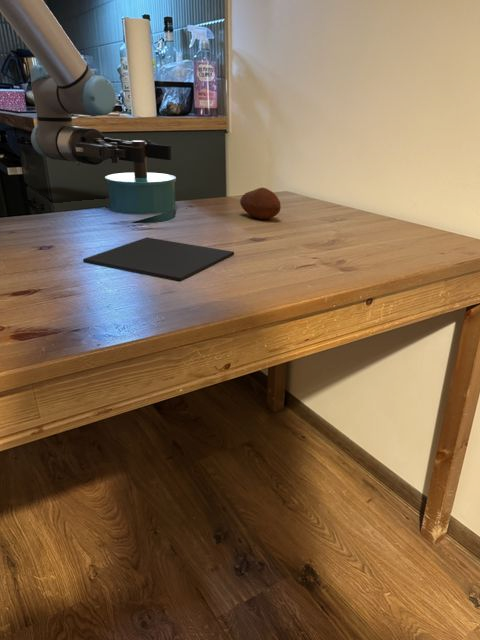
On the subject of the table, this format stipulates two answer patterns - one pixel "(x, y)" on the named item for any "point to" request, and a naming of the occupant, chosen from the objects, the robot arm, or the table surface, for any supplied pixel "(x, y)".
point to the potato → (261, 203)
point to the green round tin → (144, 200)
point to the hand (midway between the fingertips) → (156, 154)
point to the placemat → (160, 258)
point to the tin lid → (140, 173)
